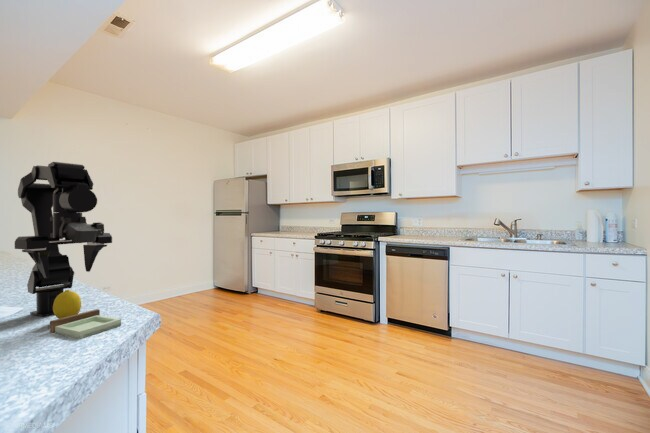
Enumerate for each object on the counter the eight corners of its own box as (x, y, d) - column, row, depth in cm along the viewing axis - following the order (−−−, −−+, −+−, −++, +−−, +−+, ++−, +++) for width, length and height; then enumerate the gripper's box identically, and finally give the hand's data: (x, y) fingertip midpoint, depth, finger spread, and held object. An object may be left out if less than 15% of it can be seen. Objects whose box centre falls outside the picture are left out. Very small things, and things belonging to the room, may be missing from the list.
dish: (55, 333, 71) (55, 326, 71) (97, 321, 79) (97, 315, 79) (79, 338, 67) (79, 331, 67) (121, 325, 75) (121, 319, 75)
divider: (49, 332, 71) (49, 321, 71) (96, 318, 81) (96, 309, 81) (52, 332, 71) (52, 321, 71) (99, 319, 80) (99, 309, 80)
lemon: (65, 325, 76) (65, 292, 76) (47, 324, 77) (46, 292, 77) (87, 318, 81) (86, 287, 81) (69, 317, 82) (69, 287, 82)
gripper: (40, 212, 67) (41, 284, 67) (125, 212, 84) (125, 270, 84) (13, 212, 72) (13, 280, 72) (99, 213, 89) (99, 268, 89)
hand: (68, 274), depth 79 cm, fingers open, 9 cm apart
